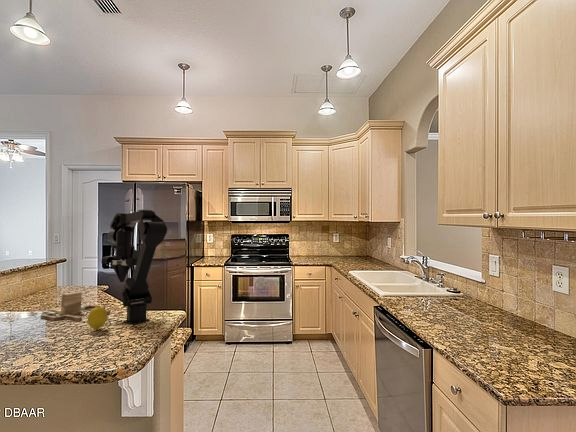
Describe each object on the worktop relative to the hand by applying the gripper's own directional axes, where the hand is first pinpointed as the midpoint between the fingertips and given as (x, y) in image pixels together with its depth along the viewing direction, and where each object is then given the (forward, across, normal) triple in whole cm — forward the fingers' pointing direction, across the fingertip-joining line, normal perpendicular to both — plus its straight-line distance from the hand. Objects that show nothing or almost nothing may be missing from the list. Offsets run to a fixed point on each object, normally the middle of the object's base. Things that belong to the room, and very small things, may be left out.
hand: (122, 282), depth 123 cm
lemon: (+13, -11, +17) cm, 24 cm away
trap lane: (+13, +16, +7) cm, 22 cm away
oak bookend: (+13, +24, +7) cm, 28 cm away
